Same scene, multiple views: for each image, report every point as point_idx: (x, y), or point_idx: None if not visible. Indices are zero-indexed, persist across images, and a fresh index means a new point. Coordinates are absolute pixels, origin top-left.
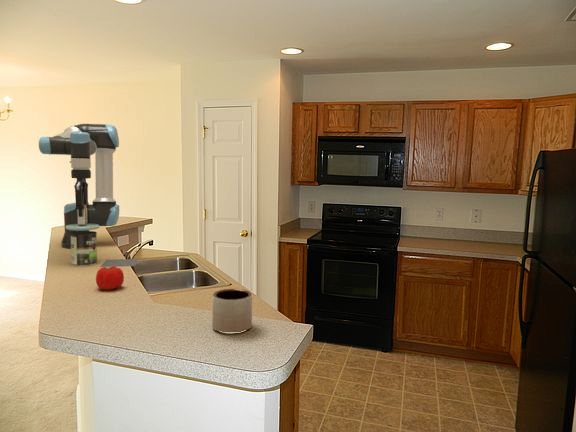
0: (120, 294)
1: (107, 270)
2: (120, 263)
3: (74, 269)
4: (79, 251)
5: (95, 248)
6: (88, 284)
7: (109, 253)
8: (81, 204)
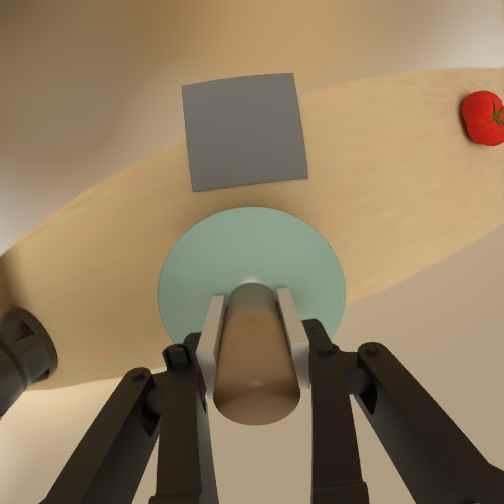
0: None
1: (498, 121)
2: (256, 123)
3: None
4: None
5: None
6: (455, 168)
7: (82, 224)
8: (396, 363)
